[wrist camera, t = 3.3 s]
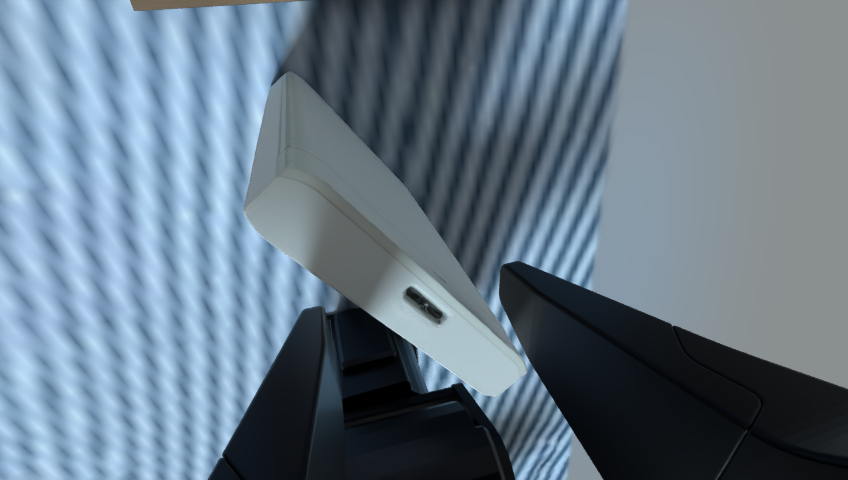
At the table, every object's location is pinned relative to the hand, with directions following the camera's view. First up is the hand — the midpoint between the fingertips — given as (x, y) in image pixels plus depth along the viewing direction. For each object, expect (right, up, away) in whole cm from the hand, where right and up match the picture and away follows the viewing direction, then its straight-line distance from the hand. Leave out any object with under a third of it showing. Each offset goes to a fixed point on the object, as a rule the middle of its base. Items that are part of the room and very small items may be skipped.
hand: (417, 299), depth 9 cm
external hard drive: (-4, +6, +10) cm, 12 cm away
